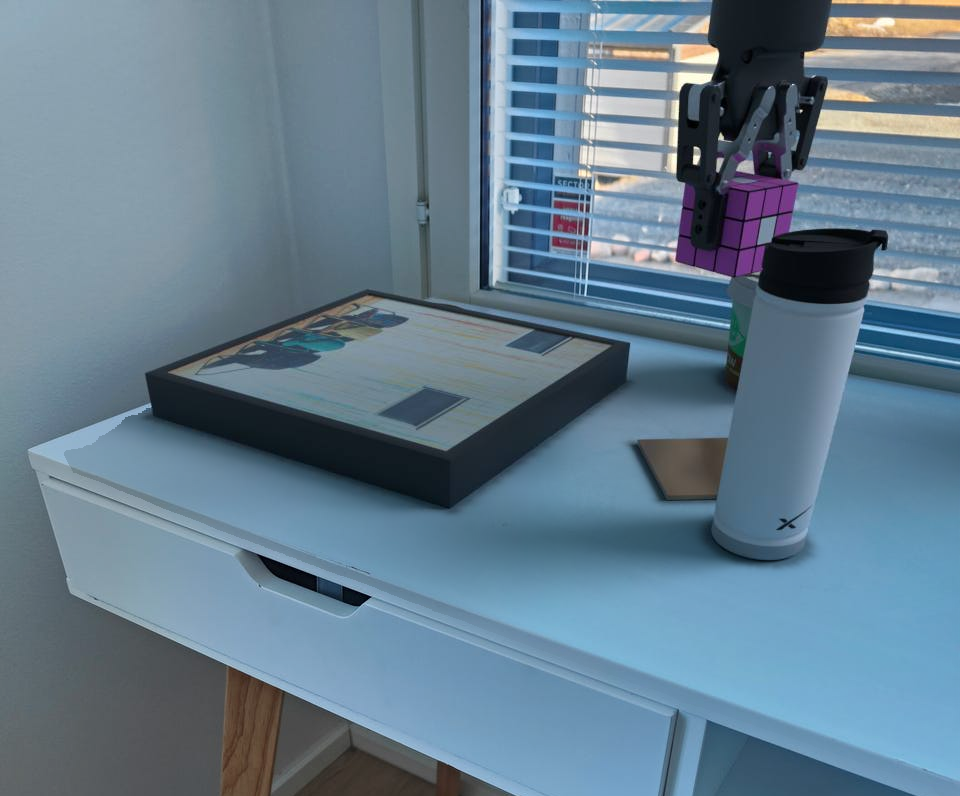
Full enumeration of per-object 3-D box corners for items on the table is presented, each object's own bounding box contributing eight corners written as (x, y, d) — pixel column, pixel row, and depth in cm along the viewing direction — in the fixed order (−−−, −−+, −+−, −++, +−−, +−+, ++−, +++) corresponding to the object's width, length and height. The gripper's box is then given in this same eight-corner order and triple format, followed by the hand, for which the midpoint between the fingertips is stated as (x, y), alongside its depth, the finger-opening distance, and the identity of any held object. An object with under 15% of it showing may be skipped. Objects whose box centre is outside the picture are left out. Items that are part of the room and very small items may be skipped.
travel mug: (805, 570, 61) (890, 246, 49) (703, 551, 63) (762, 234, 51) (812, 527, 66) (891, 222, 54) (717, 510, 67) (774, 212, 56)
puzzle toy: (674, 261, 70) (684, 178, 67) (723, 250, 73) (735, 170, 70) (734, 278, 66) (748, 191, 63) (783, 266, 69) (799, 182, 66)
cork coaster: (755, 441, 77) (755, 437, 77) (798, 497, 69) (799, 492, 69) (636, 443, 77) (637, 439, 76) (666, 500, 68) (667, 495, 68)
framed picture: (367, 288, 98) (630, 342, 86) (369, 324, 101) (626, 382, 88) (144, 373, 77) (449, 460, 65) (153, 415, 80) (450, 508, 67)
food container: (695, 361, 93) (712, 256, 87) (755, 360, 93) (775, 255, 88) (736, 409, 83) (758, 294, 77) (803, 407, 83) (829, 293, 78)
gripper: (761, -41, 53) (713, 268, 63) (890, -38, 61) (830, 237, 70) (658, -42, 57) (629, 247, 67) (791, -39, 65) (747, 220, 75)
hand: (732, 241), depth 69 cm, fingers closed on puzzle toy, 6 cm apart
